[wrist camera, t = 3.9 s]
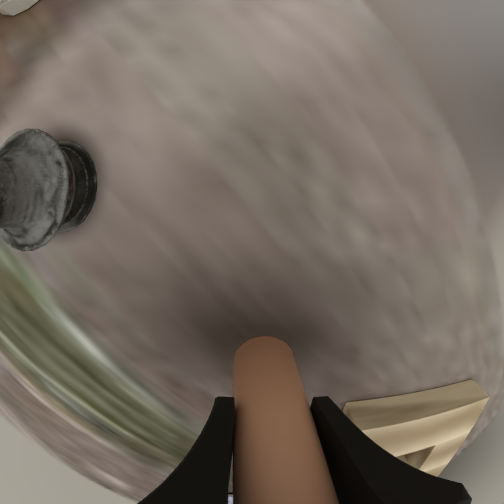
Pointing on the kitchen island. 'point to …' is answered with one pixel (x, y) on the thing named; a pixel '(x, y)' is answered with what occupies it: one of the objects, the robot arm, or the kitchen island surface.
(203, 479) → the robot arm
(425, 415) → the socket block
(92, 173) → the chess piece
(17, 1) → the white cup
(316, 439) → the peg
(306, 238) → the kitchen island surface
